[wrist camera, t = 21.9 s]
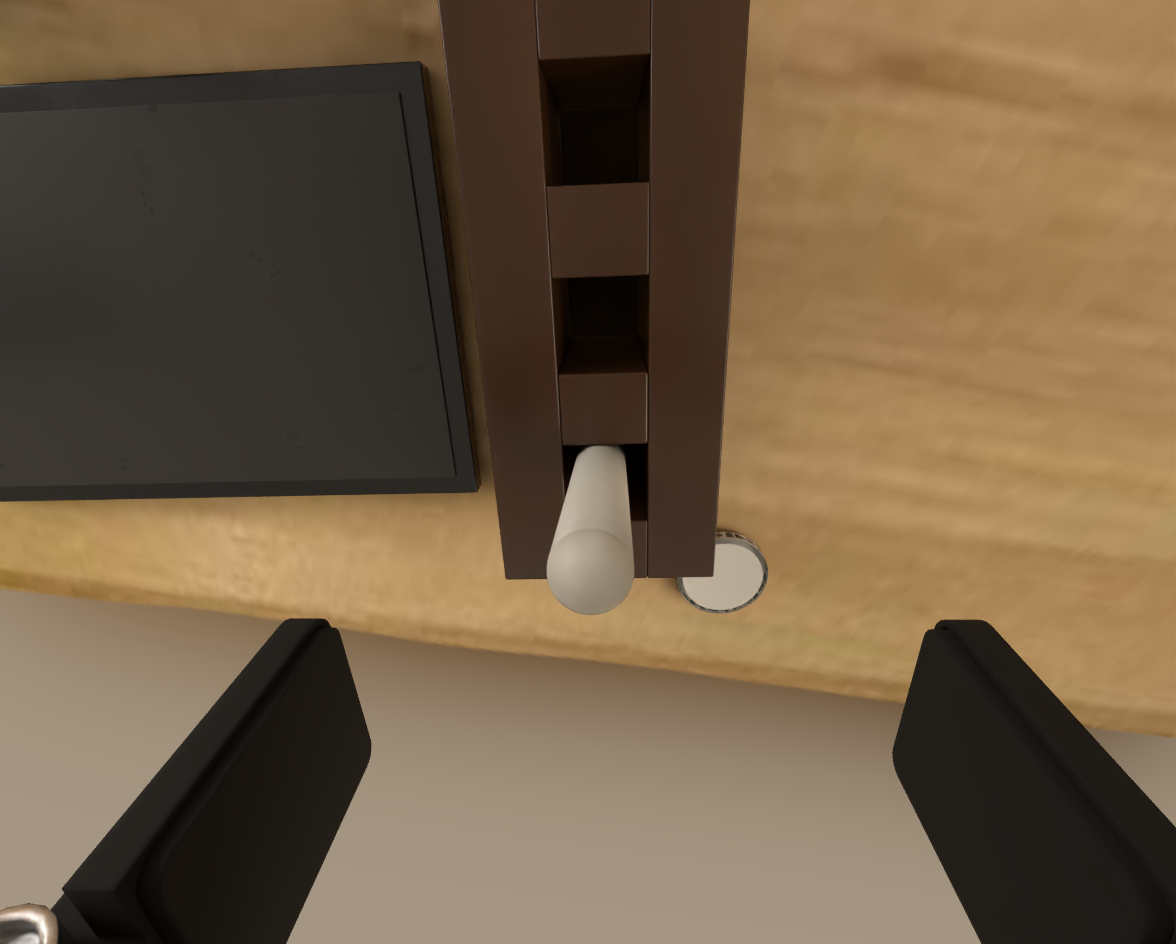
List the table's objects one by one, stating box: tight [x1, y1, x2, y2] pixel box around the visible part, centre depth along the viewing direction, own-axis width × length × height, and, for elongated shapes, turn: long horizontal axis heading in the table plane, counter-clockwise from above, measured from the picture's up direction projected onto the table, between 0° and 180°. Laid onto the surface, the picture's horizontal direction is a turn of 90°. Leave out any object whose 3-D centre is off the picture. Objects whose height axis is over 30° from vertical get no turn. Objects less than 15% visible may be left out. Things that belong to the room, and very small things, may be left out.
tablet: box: [0, 61, 481, 502], centre depth 21 cm, size 22×15×1 cm
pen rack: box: [438, 0, 750, 579], centre depth 18 cm, size 7×17×6 cm, turn 2°
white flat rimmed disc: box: [677, 532, 768, 613], centre depth 25 cm, size 4×4×1 cm
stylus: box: [547, 444, 635, 615], centre depth 16 cm, size 2×2×14 cm
